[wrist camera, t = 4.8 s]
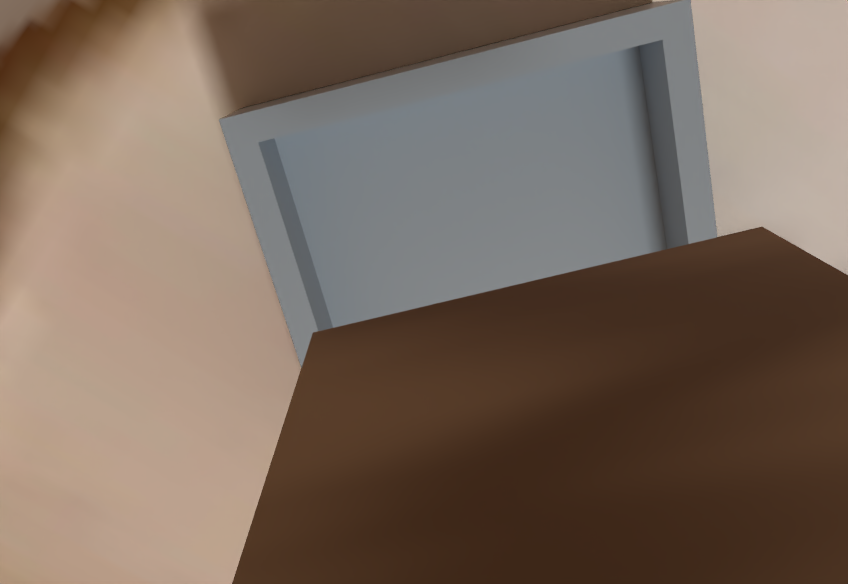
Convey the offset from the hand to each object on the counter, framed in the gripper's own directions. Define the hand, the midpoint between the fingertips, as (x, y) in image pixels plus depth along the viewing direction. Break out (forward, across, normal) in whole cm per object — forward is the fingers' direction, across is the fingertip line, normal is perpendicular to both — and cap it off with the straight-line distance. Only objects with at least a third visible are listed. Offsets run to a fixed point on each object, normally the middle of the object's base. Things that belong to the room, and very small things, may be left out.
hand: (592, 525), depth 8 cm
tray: (+10, 0, 0) cm, 10 cm away
